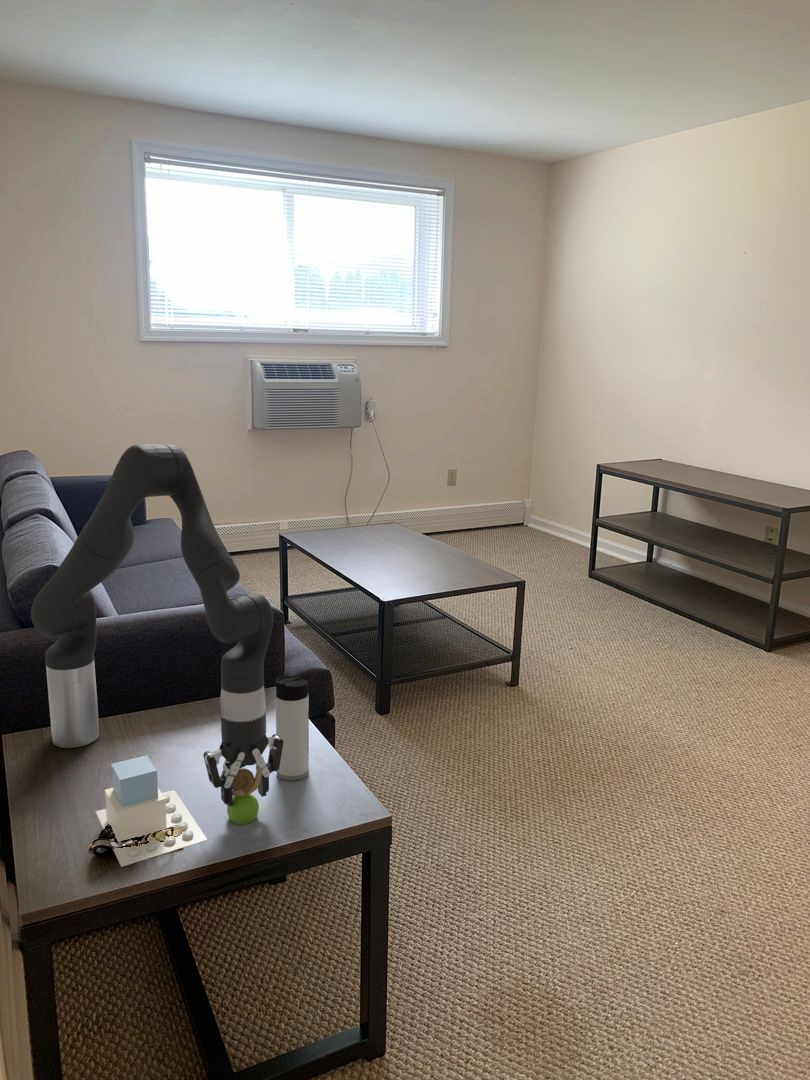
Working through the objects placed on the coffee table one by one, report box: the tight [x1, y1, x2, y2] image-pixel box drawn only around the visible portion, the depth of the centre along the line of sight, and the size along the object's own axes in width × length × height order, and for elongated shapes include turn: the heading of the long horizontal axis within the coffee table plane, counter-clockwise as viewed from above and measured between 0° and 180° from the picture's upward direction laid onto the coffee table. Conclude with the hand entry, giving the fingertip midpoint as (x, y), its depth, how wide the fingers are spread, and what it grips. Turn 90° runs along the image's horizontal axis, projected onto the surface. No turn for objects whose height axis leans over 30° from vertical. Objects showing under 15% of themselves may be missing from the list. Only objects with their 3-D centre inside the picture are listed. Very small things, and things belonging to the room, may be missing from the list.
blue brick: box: [110, 754, 159, 807], centre depth 135 cm, size 6×6×5 cm
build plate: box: [94, 789, 208, 868], centre depth 137 cm, size 18×14×2 cm
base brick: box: [104, 787, 167, 842], centre depth 136 cm, size 8×8×6 cm
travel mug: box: [275, 675, 310, 782], centre depth 154 cm, size 6×7×20 cm
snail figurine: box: [226, 756, 265, 825], centre depth 139 cm, size 5×6×12 cm
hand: (245, 798), depth 139 cm, fingers closed on snail figurine, 5 cm apart
